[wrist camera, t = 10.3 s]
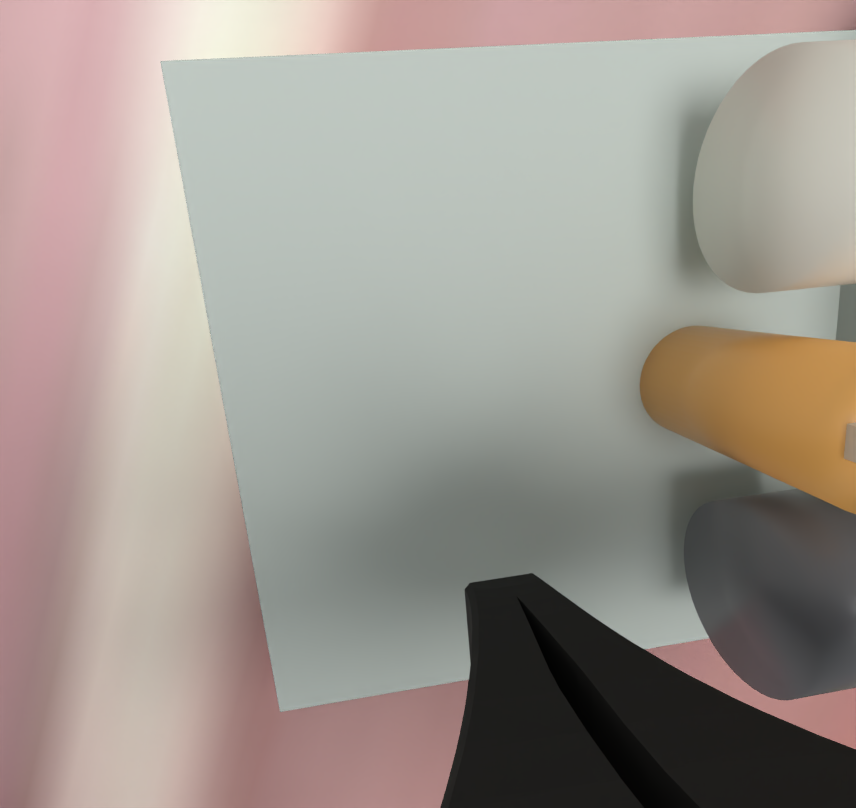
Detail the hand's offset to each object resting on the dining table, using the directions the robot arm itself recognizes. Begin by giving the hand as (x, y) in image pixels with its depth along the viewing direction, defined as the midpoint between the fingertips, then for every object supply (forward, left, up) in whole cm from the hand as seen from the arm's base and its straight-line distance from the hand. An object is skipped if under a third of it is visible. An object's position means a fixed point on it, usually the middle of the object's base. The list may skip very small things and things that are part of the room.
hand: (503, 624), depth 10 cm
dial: (+5, +4, -2) cm, 7 cm away
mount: (+3, +4, -3) cm, 5 cm away
